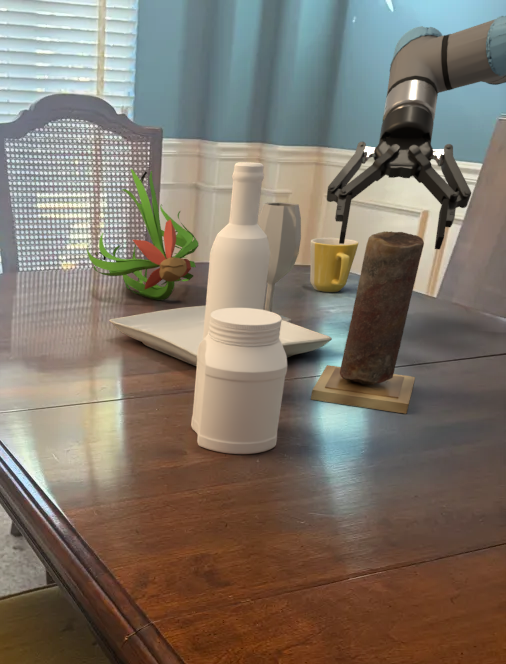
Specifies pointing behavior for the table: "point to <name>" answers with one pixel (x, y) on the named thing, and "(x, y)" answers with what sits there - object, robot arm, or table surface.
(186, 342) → the square plate
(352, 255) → the mug
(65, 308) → the table surface
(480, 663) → the table surface
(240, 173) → the bottle
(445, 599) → the table surface
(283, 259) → the wineglass
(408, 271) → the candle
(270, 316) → the jar
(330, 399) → the board
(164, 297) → the decorative plant
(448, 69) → the robot arm
